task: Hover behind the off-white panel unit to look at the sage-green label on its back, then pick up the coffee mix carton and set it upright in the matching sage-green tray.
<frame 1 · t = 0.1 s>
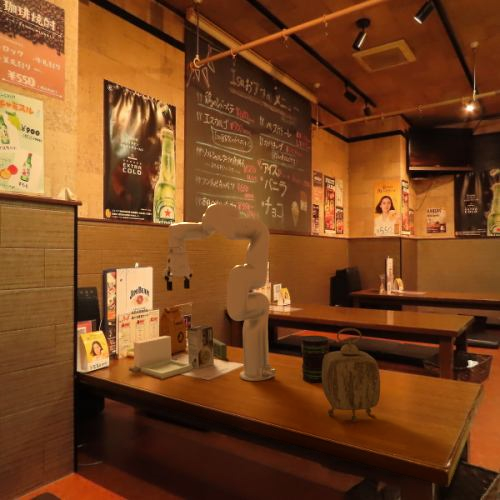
hand: (178, 289, 185), 31 cm above the table, tool pointing down, fingers open, 9 cm apart
tabletop clock: (352, 419, 113), on the table
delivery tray: (166, 371, 166), on the table
coffee package: (173, 352, 198), on the table
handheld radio: (214, 354, 194), on the table
coffee box: (201, 365, 173), on the table
panel unit: (153, 365, 175), on the table
storage jar: (316, 379, 149), on the table
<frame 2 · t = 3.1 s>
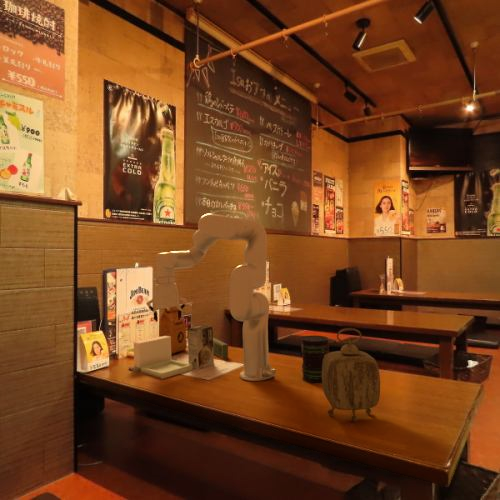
hand: (167, 320, 178), 18 cm above the table, tool pointing down, fingers open, 9 cm apart
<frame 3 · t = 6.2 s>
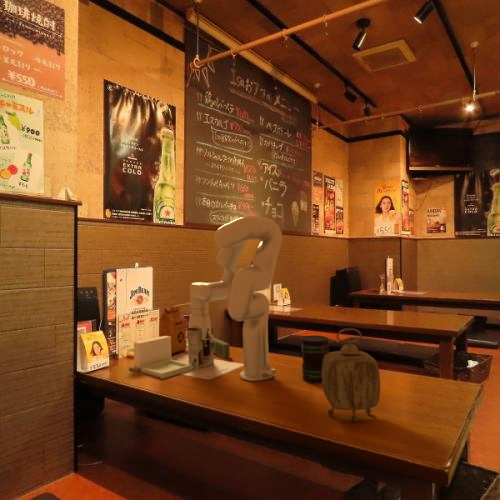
hand: (200, 354, 173), 5 cm above the table, tool pointing down, fingers closed on coffee box, 6 cm apart
coffee box: (201, 365, 173), on the table, touching gripper
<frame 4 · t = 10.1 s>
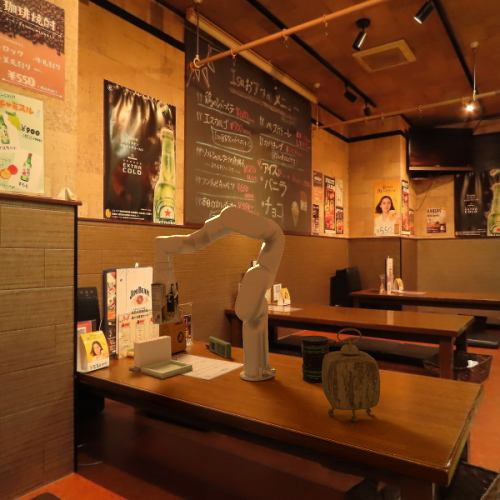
hand: (165, 310, 166), 24 cm above the table, tool pointing down, fingers closed on coffee box, 6 cm apart
coffee box: (165, 323, 166), point 19 cm above the table, touching gripper
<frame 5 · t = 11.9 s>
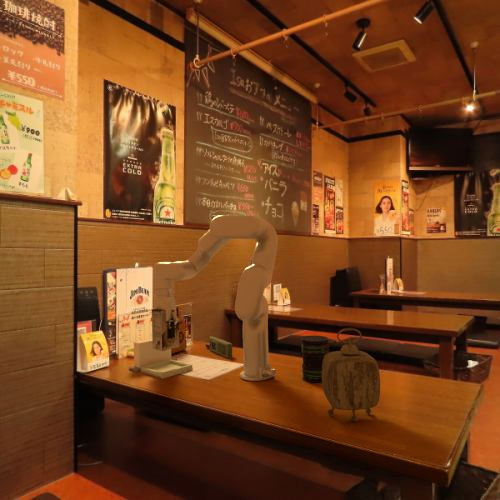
hand: (165, 336, 166), 14 cm above the table, tool pointing down, fingers closed on coffee box, 6 cm apart
coffee box: (166, 348, 166), point 9 cm above the table, touching gripper
when the fingers open (7 cm above the table, at t = 13.8 s): coffee box drops 1 cm, resting on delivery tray.
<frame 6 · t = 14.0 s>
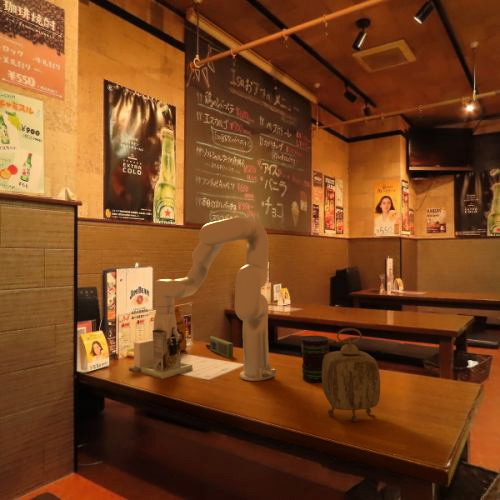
hand: (166, 352, 166), 7 cm above the table, tool pointing down, fingers open, 8 cm apart
coffee box: (167, 369, 166), point 1 cm above the table, touching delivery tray
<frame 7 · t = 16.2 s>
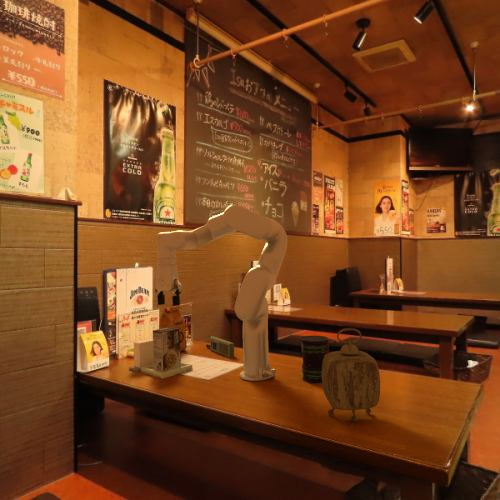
hand: (168, 305, 166), 27 cm above the table, tool pointing down, fingers open, 9 cm apart
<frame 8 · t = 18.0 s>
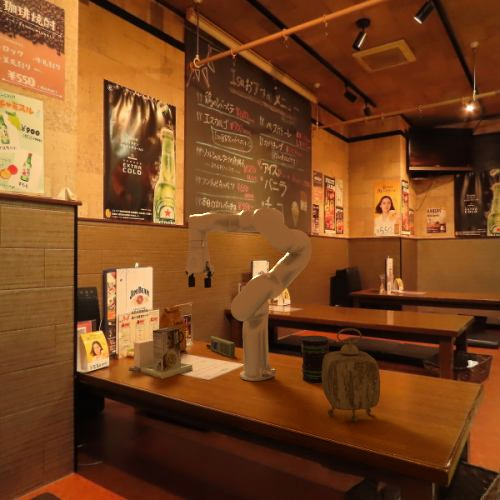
hand: (199, 287, 167), 33 cm above the table, tool pointing down, fingers open, 9 cm apart
at the end: coffee box inside the target area on the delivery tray (0.1 cm from its centre), point 0.6 cm above the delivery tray's base; coffee box tilted 0°; the gripper is holding nothing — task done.
